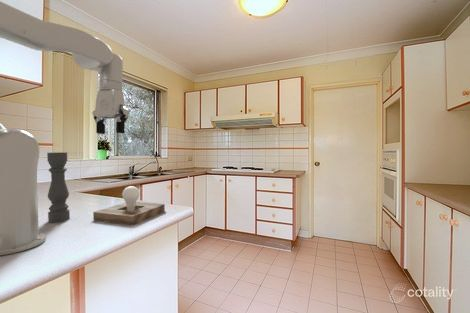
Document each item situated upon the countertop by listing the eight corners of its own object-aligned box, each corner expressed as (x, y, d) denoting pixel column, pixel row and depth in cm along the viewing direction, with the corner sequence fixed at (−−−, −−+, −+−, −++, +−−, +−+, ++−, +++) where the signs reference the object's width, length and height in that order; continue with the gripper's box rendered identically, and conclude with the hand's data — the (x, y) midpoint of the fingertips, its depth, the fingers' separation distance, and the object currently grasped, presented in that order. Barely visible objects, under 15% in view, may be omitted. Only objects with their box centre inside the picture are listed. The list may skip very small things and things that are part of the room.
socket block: (132, 225, 76) (132, 216, 76) (93, 219, 82) (93, 211, 82) (164, 211, 93) (164, 204, 93) (130, 207, 99) (130, 201, 99)
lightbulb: (126, 217, 83) (127, 188, 82) (119, 213, 87) (119, 186, 86) (142, 213, 88) (142, 186, 87) (134, 210, 92) (134, 184, 91)
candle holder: (57, 223, 78) (55, 152, 77) (43, 222, 79) (41, 152, 78) (73, 218, 84) (72, 152, 83) (60, 217, 85) (58, 152, 84)
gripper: (84, 86, 82) (84, 132, 82) (120, 82, 77) (119, 131, 77) (102, 92, 89) (102, 134, 89) (136, 89, 84) (136, 134, 84)
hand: (110, 133), depth 83 cm, fingers open, 9 cm apart
